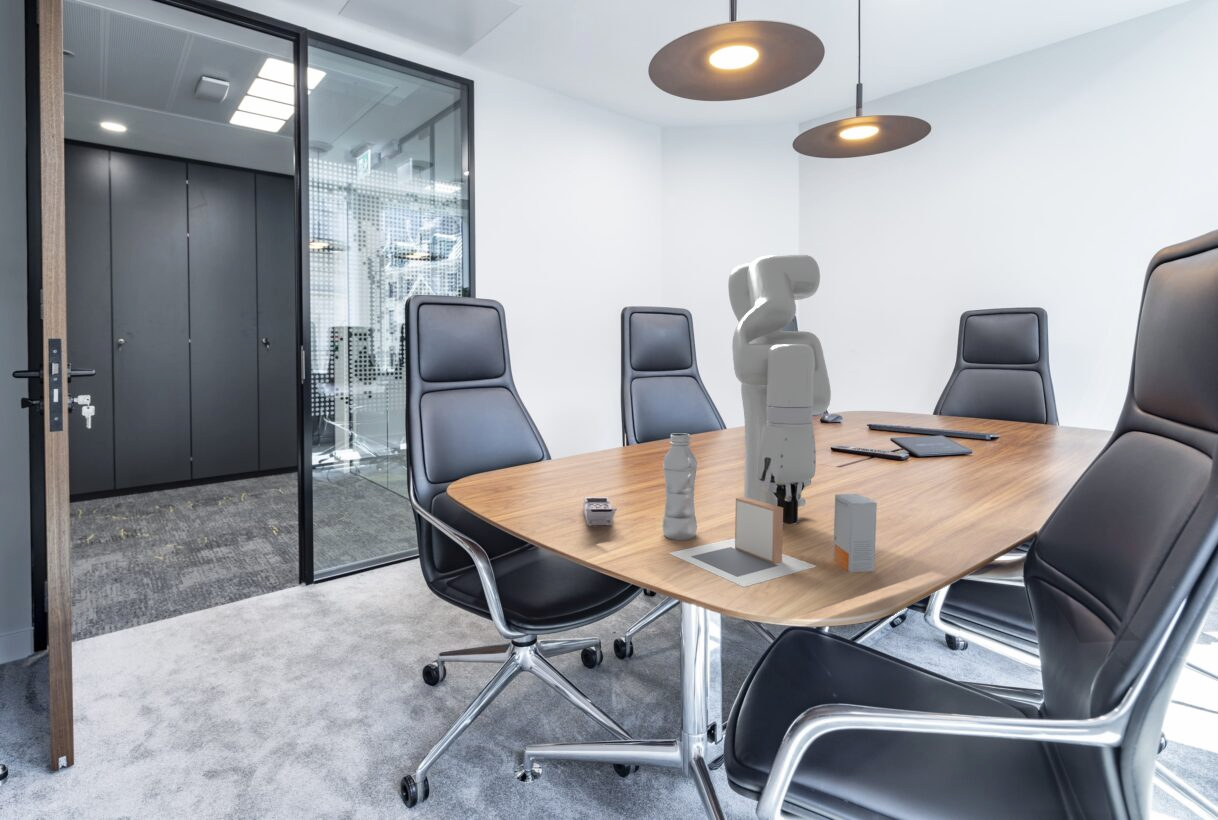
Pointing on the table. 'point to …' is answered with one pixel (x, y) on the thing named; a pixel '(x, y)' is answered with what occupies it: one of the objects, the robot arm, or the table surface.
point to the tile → (759, 529)
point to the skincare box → (854, 532)
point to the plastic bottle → (679, 489)
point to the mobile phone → (598, 511)
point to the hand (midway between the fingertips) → (787, 521)
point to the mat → (739, 563)
